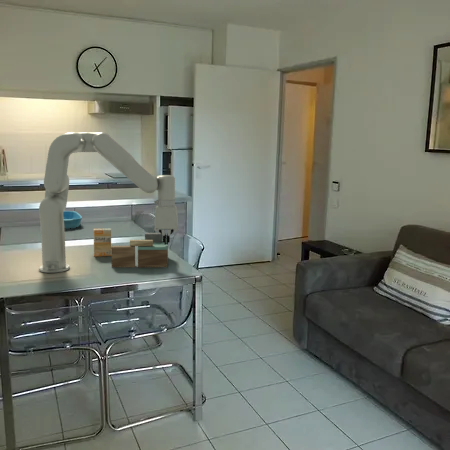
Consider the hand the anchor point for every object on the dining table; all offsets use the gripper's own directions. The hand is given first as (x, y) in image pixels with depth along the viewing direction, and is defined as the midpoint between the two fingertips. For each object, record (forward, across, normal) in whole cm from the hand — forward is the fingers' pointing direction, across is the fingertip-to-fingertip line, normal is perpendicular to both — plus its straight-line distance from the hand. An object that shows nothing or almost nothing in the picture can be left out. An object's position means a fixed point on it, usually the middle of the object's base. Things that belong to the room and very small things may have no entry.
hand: (166, 243), depth 218 cm
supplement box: (+10, -31, +21) cm, 39 cm away
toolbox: (+10, -12, +7) cm, 17 cm away
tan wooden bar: (+1, -11, 0) cm, 11 cm away
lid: (+2, -6, +7) cm, 9 cm away
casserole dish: (+11, -68, +104) cm, 125 cm away
